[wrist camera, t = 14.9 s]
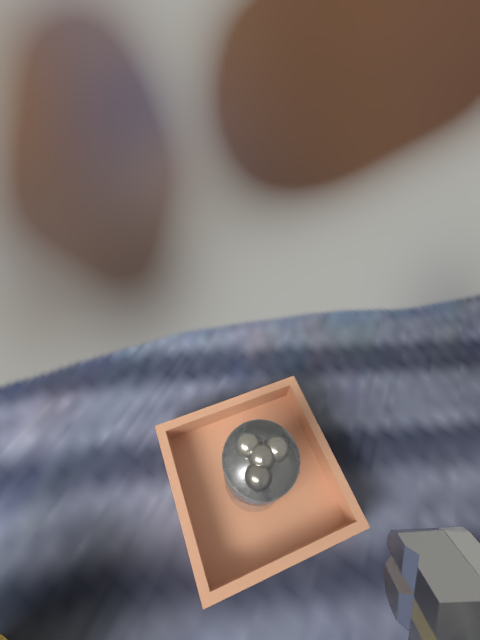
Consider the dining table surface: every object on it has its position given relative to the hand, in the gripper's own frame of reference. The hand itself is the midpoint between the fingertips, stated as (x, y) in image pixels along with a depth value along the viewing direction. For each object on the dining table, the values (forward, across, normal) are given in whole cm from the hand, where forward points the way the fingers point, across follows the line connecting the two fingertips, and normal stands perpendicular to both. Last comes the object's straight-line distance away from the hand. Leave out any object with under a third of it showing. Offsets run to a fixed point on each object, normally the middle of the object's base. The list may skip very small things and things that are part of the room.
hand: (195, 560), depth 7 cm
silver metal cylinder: (+24, -3, +16) cm, 29 cm away
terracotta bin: (+25, -3, +16) cm, 30 cm away
